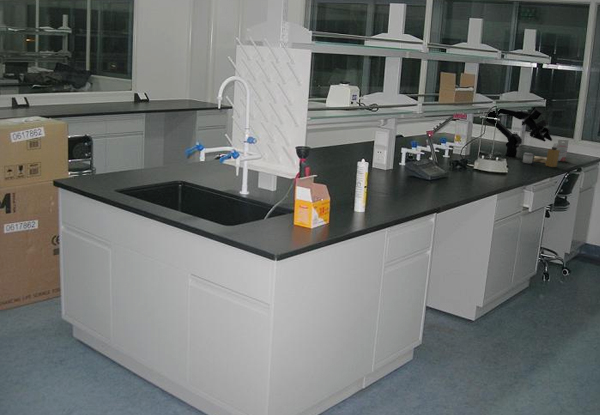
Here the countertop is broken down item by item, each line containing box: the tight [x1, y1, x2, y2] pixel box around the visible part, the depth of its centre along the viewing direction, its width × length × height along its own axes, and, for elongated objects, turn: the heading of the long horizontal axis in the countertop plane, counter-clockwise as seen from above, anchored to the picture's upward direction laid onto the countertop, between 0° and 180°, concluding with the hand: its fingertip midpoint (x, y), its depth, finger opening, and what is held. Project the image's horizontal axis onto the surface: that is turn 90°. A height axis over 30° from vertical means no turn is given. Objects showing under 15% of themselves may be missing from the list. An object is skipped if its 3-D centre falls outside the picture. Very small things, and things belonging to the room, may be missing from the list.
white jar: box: [522, 152, 535, 164], centre depth 460 cm, size 6×6×6 cm
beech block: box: [532, 155, 547, 164], centre depth 470 cm, size 9×9×3 cm
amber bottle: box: [544, 146, 560, 168], centre depth 454 cm, size 5×5×12 cm
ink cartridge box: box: [552, 139, 569, 162], centre depth 480 cm, size 9×5×15 cm, turn 105°
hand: (548, 140), depth 460 cm, fingers open, 9 cm apart
